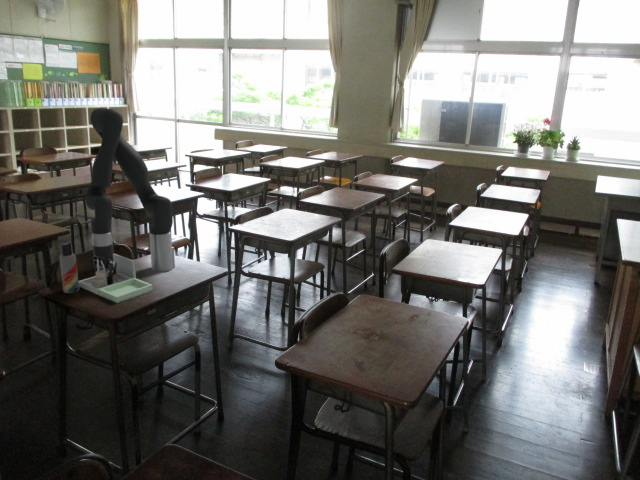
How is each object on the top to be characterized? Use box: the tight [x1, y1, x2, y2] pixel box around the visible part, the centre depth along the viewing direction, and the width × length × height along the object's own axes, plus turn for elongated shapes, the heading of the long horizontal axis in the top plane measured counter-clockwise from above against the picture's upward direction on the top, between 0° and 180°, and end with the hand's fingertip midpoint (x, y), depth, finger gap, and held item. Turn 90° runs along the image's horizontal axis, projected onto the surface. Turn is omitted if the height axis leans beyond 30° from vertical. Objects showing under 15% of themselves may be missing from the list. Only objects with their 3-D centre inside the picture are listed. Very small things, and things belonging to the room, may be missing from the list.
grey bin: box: [78, 272, 132, 296], centre depth 209 cm, size 16×14×2 cm
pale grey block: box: [91, 278, 107, 289], centre depth 203 cm, size 4×4×4 cm
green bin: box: [98, 277, 154, 304], centre depth 201 cm, size 16×12×3 cm
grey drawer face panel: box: [112, 253, 137, 279], centre depth 215 cm, size 1×14×10 cm, turn 54°
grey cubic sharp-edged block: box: [113, 271, 118, 282], centre depth 212 cm, size 4×4×4 cm
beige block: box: [95, 269, 112, 286], centre depth 207 cm, size 4×4×6 cm
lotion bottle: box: [58, 241, 80, 294], centre depth 199 cm, size 6×6×20 cm
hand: (106, 282), depth 208 cm, fingers closed on beige block, 4 cm apart
